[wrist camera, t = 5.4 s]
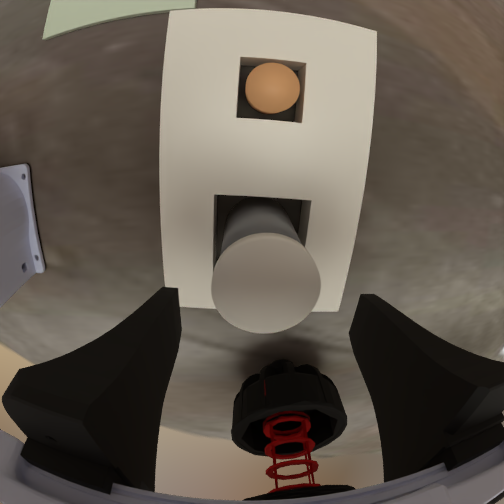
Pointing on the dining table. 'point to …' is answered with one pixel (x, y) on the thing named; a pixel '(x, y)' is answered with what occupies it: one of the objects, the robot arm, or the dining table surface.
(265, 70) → the plunger
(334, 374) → the dining table surface
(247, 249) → the cylinder
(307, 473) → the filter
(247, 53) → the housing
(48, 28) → the mat
